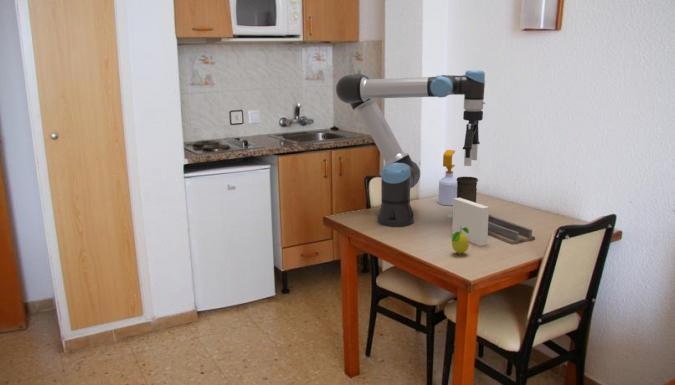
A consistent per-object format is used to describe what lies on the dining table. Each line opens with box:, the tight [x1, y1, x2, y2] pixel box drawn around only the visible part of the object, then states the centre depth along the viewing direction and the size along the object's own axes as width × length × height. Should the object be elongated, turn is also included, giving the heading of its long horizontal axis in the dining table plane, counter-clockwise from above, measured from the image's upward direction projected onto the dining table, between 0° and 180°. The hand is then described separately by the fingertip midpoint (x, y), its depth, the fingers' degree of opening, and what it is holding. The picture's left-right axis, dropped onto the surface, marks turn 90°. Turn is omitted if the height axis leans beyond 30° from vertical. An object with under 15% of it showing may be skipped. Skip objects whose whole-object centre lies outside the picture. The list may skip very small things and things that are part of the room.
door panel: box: [451, 198, 490, 247], centre depth 204 cm, size 4×16×14 cm, turn 27°
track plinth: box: [488, 214, 536, 245], centre depth 211 cm, size 11×24×4 cm, turn 27°
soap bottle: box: [437, 149, 458, 207], centre depth 254 cm, size 9×9×25 cm
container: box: [456, 176, 479, 203], centre depth 226 cm, size 9×9×18 cm
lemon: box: [451, 227, 470, 255], centre depth 189 cm, size 7×6×10 cm
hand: (470, 162), depth 226 cm, fingers open, 13 cm apart
